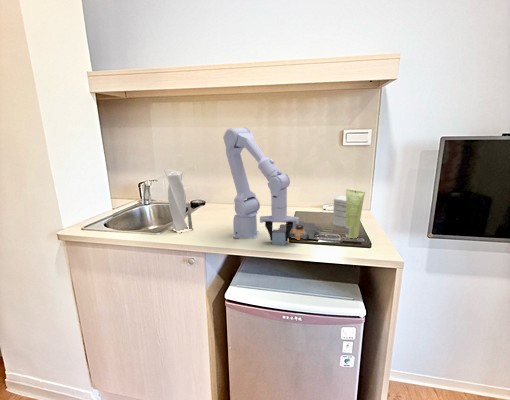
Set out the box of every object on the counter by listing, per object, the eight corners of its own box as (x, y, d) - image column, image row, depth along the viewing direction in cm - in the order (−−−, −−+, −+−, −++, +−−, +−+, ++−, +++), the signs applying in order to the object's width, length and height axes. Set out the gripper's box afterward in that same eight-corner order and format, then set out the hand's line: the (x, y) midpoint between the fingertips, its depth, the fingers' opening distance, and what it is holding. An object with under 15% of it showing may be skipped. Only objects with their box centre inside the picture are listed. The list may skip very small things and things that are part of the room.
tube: (357, 235, 114) (360, 188, 109) (361, 240, 109) (365, 191, 104) (343, 235, 114) (346, 189, 109) (347, 240, 109) (349, 191, 104)
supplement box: (339, 221, 131) (340, 195, 128) (354, 224, 126) (356, 197, 123) (332, 225, 125) (333, 198, 122) (348, 229, 121) (350, 201, 118)
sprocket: (305, 244, 105) (305, 231, 104) (269, 233, 117) (269, 221, 116) (328, 231, 118) (329, 219, 116) (294, 222, 130) (294, 211, 128)
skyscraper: (176, 234, 120) (169, 170, 113) (168, 230, 126) (160, 168, 119) (193, 229, 126) (187, 168, 119) (184, 225, 132) (179, 166, 124)
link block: (272, 245, 107) (272, 232, 105) (273, 241, 110) (273, 229, 109) (285, 245, 106) (285, 233, 104) (286, 242, 109) (286, 230, 108)
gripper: (298, 203, 107) (298, 236, 110) (261, 203, 109) (261, 235, 112) (298, 208, 100) (298, 243, 103) (258, 208, 102) (259, 242, 106)
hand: (279, 240), depth 107 cm, fingers closed on link block, 5 cm apart
